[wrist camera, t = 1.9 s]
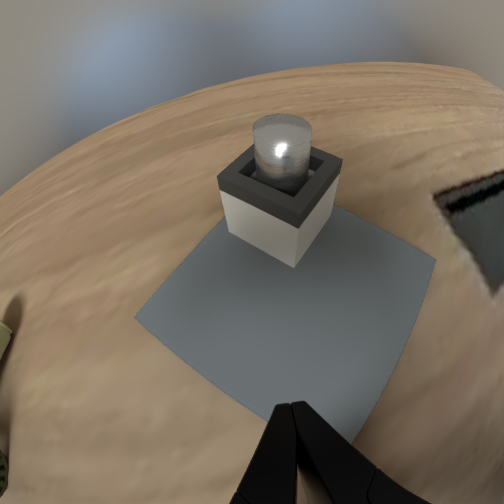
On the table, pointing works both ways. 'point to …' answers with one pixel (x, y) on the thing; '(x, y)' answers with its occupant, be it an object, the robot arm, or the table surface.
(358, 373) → the mat
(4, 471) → the cannon
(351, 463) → the robot arm
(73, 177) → the table surface
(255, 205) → the housing
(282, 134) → the button
